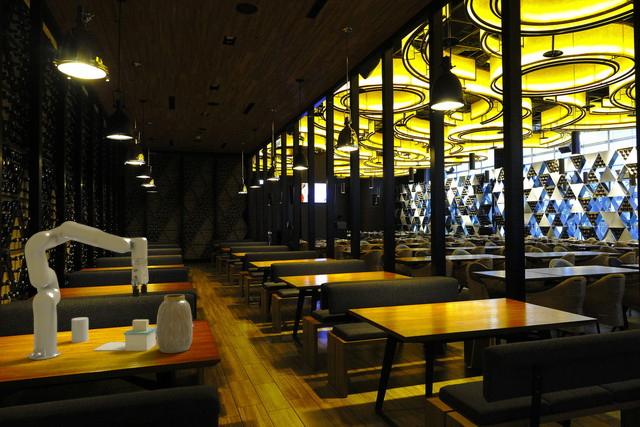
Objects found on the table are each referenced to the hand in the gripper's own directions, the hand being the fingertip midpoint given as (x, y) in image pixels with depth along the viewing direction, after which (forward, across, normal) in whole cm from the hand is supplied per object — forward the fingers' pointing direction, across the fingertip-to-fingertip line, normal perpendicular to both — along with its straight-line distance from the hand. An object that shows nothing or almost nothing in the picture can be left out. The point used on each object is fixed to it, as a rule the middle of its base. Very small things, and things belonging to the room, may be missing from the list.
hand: (140, 295), depth 236 cm
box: (+27, 0, 0) cm, 27 cm away
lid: (+20, 0, 0) cm, 20 cm away
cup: (+27, +15, +40) cm, 50 cm away
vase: (+27, -4, -19) cm, 33 cm away
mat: (+27, +2, +14) cm, 30 cm away
